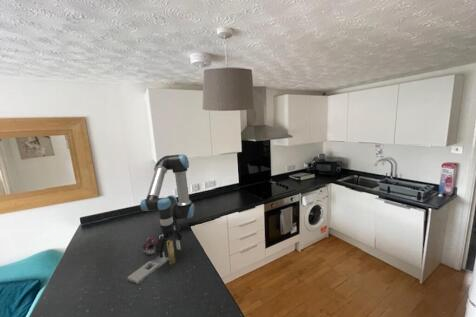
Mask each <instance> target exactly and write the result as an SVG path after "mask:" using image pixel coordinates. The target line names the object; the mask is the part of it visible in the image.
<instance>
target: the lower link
mask: <svg viewBox="0 0 476 317" xmlns="http://www.w3.org/2000/svg"><path fill="white" fill-rule="evenodd" d="M151 261H152V262H155V263H158V264H160V266H159V267H157V268H156V269H155V270H154V271H152V272H151V273H150V274H149V276H151V275H152V274H154V273H155V272H156V271H157V270H158V269H159V268H160V267H162V266H163V265H165V263H167V262H168V261H169V257H167V256H165V262H162V261H161V258H160V255H159V254H158V256H156V257H155V258H153V259H152V260H151ZM153 266H154V265H151V264H150V265H149V266H147V267H146V268H145V269H147V270H148V268H150V267H153Z"/></svg>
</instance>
